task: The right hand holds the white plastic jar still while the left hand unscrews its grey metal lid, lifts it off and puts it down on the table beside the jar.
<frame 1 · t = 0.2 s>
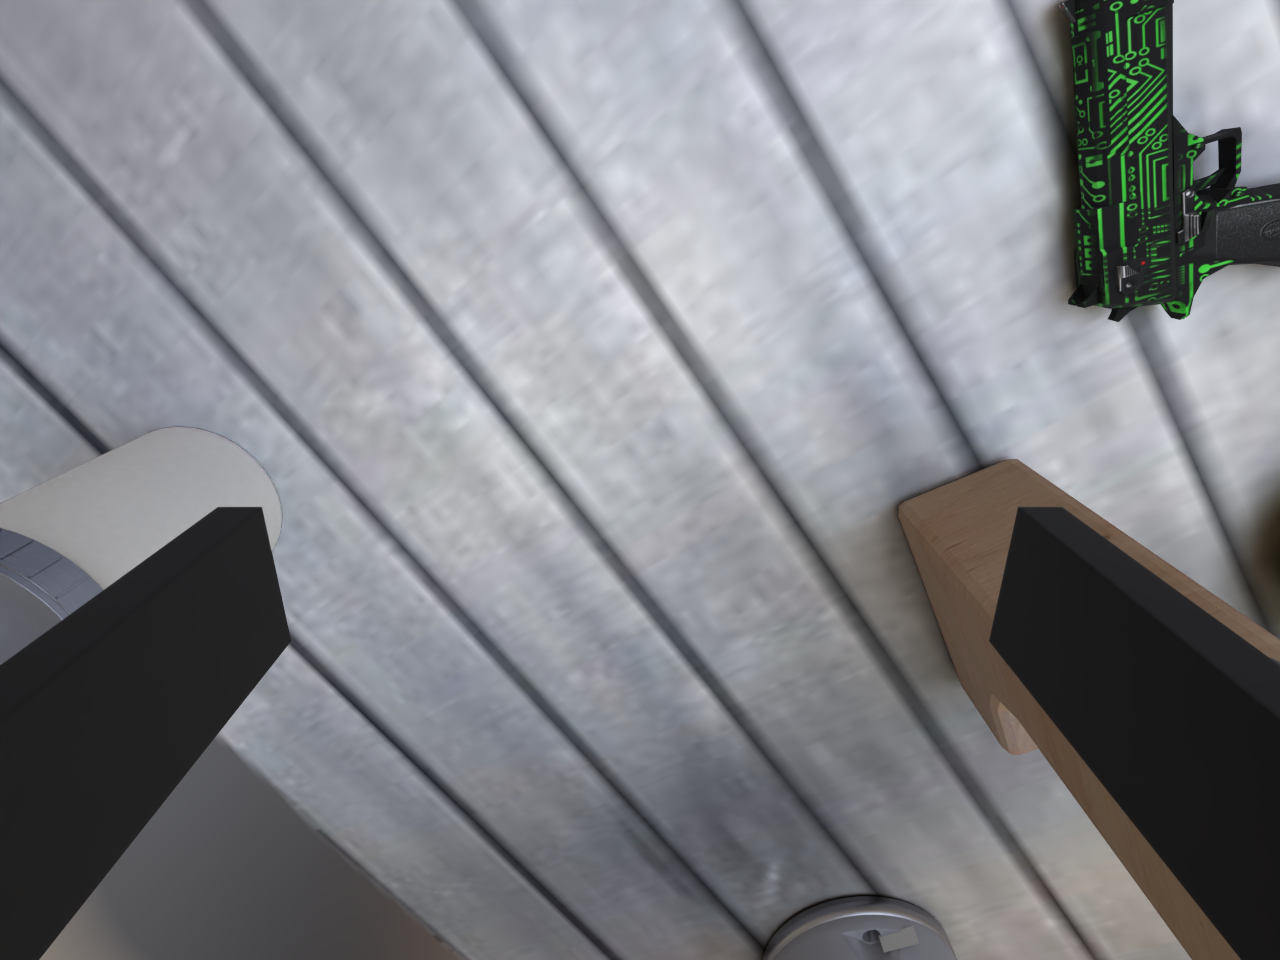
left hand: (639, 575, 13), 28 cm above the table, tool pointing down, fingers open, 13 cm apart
handgun: (1191, 149, 35), on the table
decorative block: (983, 575, 44), on the table
jar: (199, 504, 43), on the table
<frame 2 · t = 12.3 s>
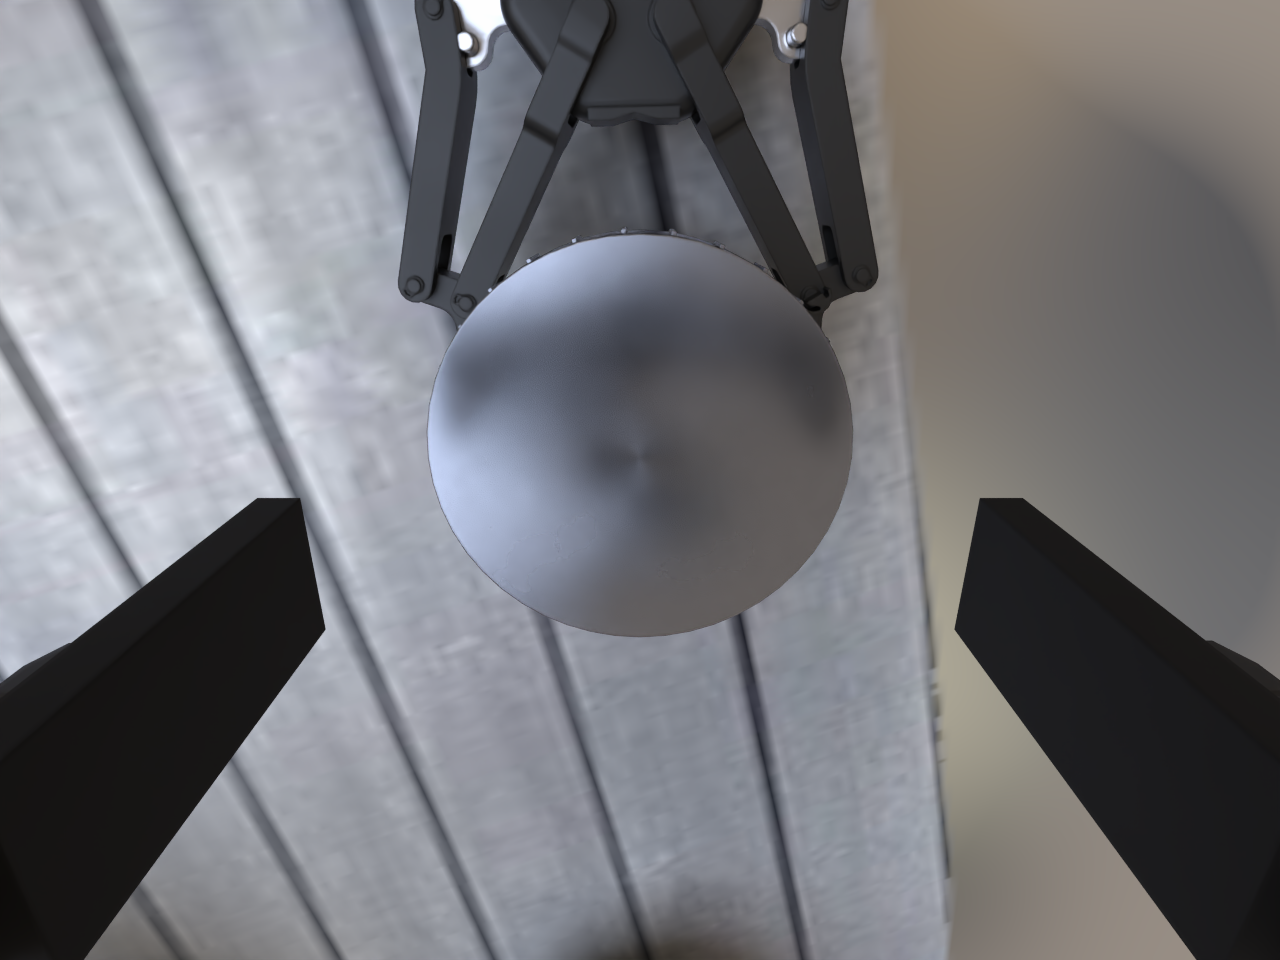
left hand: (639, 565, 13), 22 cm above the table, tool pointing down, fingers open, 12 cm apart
right hand: (642, 472, 29), fingers closed on jar, 10 cm apart
lid: (639, 453, 18), point 16 cm above the table, screwed on, not yet turned
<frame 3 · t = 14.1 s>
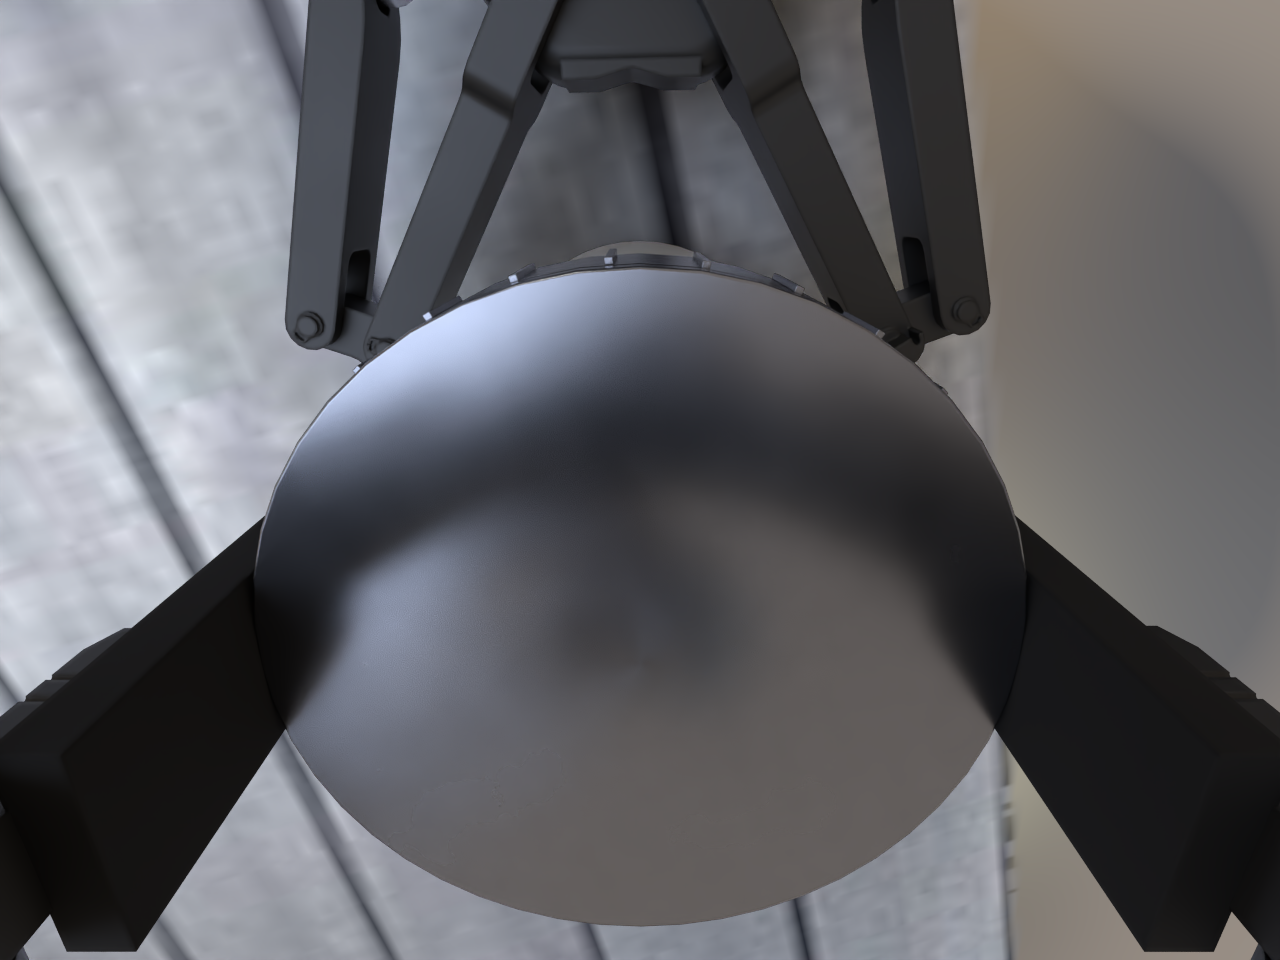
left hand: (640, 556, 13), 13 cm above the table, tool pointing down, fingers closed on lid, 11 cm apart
right hand: (643, 575, 21), fingers closed on jar, 10 cm apart
lid: (640, 648, 10), point 16 cm above the table, screwed on, not yet turned, touching left hand
jar: (639, 385, 25), on the table, touching right hand
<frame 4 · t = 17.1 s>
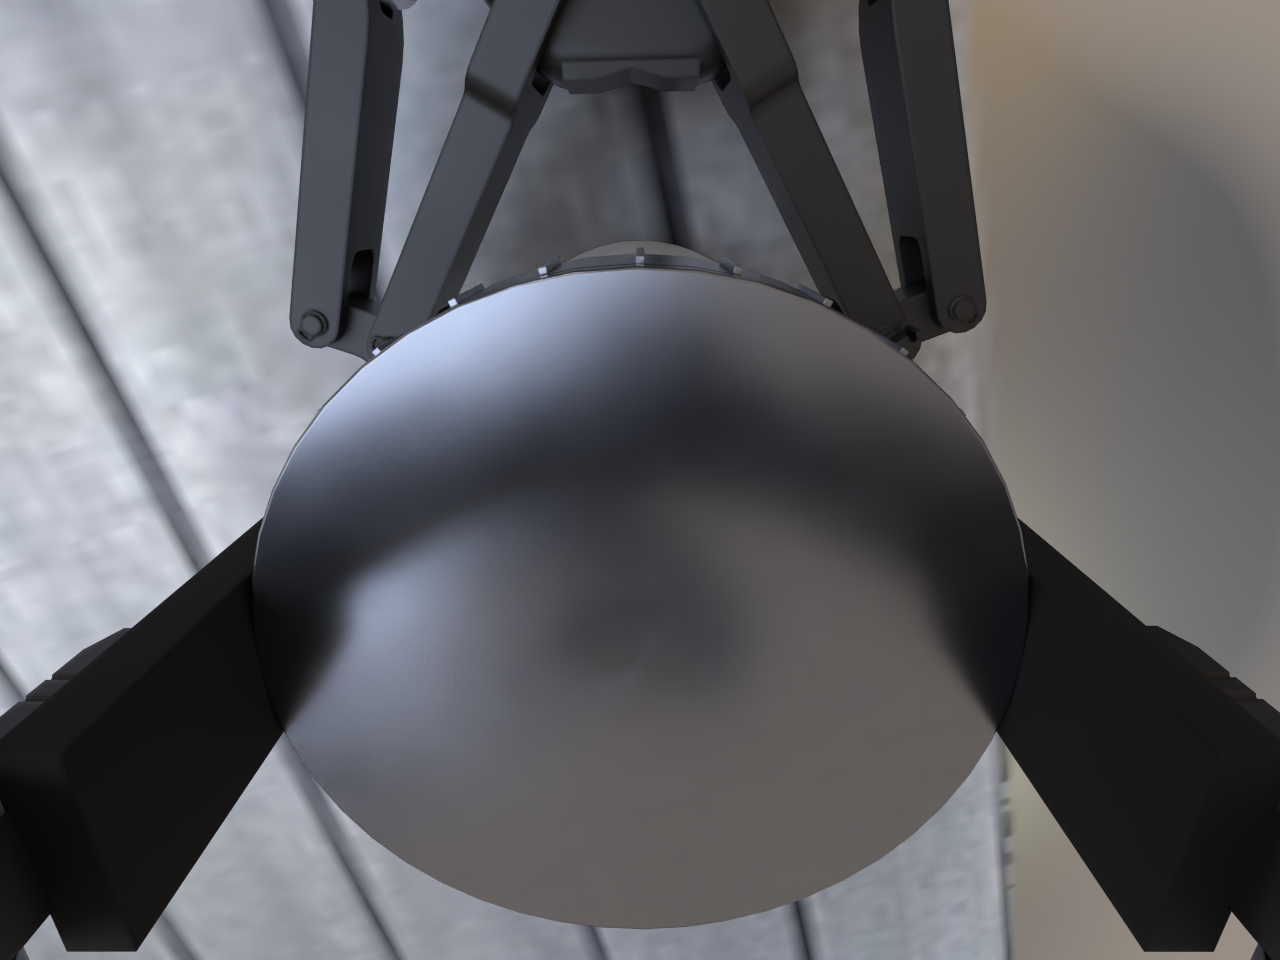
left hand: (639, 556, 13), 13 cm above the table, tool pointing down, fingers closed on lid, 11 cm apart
right hand: (643, 571, 21), fingers closed on jar, 10 cm apart
lid: (640, 650, 10), point 16 cm above the table, turned 83° so far, risen 0.3 cm, still on its thread, touching left hand
jar: (640, 383, 26), on the table, touching right hand
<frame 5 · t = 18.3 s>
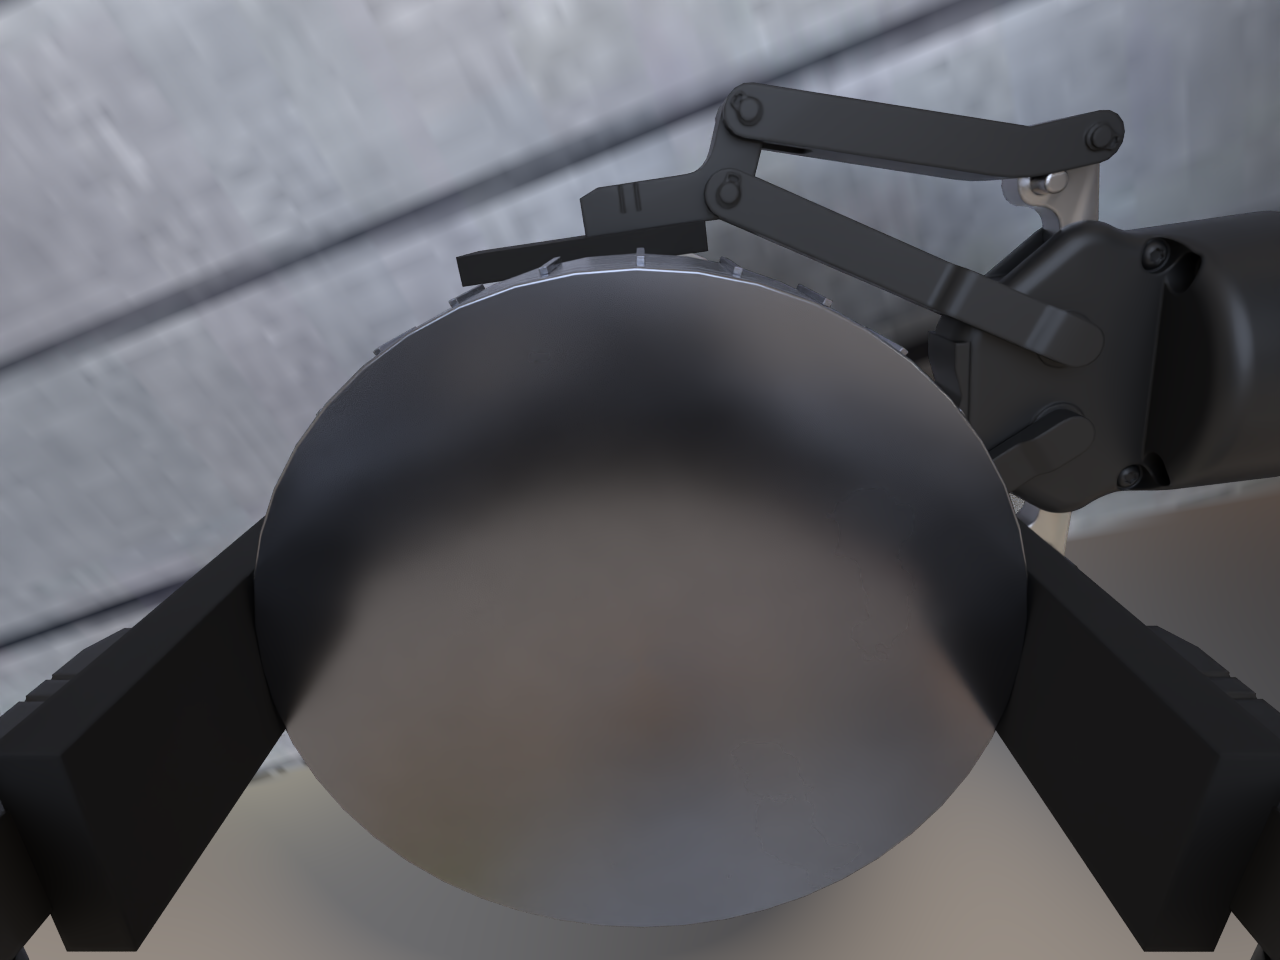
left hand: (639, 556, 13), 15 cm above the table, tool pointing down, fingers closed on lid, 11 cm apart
right hand: (510, 446, 22), fingers closed on jar, 10 cm apart
lid: (640, 649, 10), point 18 cm above the table, off its thread, touching left hand
when the left hand's fingers open (0 cm above the table, at t = 24.1 s): lid drops 1 cm, point 2 cm above the table.
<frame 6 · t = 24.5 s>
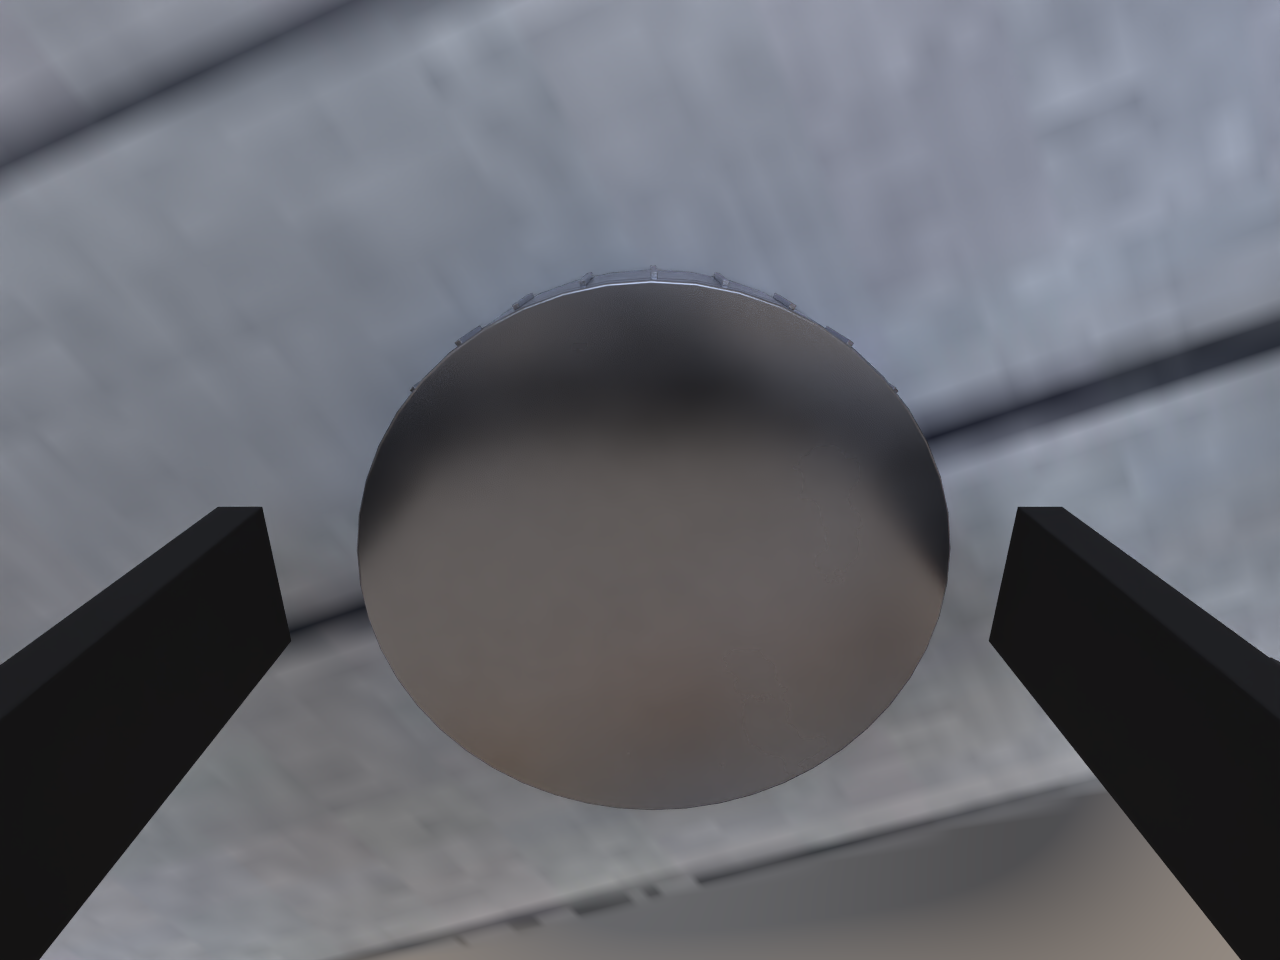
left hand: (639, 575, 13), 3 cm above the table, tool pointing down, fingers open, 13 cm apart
lid: (652, 575, 13), point 2 cm above the table, off its thread
when the right hand's fingers open (6 cm above the table, at t = 25.1 s): jar stays where it is, on the table.
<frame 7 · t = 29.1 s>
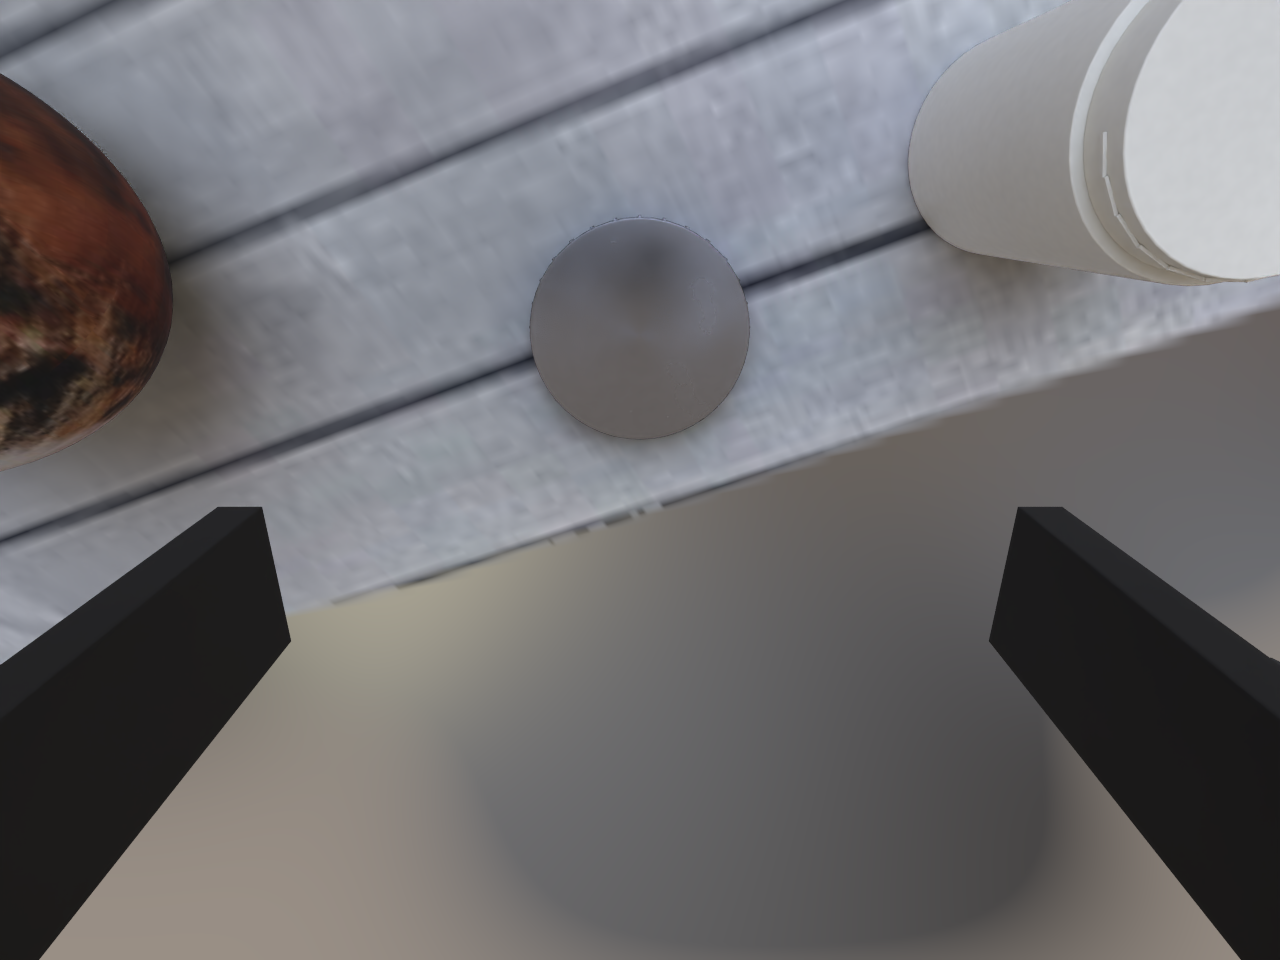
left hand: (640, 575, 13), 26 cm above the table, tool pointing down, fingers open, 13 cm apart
lid: (639, 333, 35), point 2 cm above the table, off its thread
cat face ball: (31, 242, 36), on the table
jar: (1010, 148, 34), on the table
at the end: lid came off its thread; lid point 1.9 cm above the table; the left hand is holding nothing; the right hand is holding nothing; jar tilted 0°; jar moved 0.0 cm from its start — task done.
